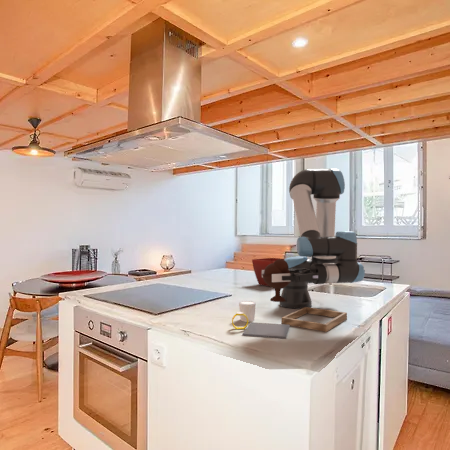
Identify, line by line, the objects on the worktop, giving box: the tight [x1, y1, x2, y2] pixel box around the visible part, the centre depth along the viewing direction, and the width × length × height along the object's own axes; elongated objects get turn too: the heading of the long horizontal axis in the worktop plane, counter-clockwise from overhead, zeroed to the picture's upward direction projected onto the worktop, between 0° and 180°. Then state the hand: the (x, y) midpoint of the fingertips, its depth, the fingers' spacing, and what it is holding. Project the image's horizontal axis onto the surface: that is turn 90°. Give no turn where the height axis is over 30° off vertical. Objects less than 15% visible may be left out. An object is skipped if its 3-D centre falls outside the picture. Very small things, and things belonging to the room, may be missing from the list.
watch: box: [231, 311, 249, 330], centre depth 127 cm, size 6×3×6 cm, turn 91°
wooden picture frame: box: [280, 307, 348, 333], centre depth 136 cm, size 18×22×2 cm
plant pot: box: [251, 257, 285, 287], centre depth 225 cm, size 19×19×17 cm
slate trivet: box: [241, 321, 291, 340], centre depth 124 cm, size 15×15×1 cm
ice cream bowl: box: [262, 258, 291, 303], centre depth 125 cm, size 11×11×15 cm
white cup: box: [238, 300, 256, 323], centre depth 140 cm, size 7×7×7 cm
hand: (266, 275), depth 124 cm, fingers closed on ice cream bowl, 11 cm apart
